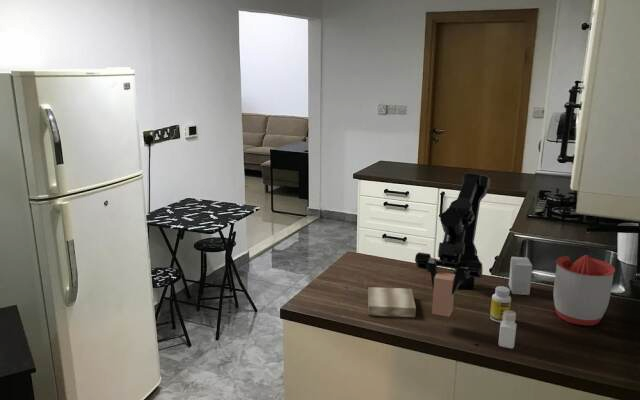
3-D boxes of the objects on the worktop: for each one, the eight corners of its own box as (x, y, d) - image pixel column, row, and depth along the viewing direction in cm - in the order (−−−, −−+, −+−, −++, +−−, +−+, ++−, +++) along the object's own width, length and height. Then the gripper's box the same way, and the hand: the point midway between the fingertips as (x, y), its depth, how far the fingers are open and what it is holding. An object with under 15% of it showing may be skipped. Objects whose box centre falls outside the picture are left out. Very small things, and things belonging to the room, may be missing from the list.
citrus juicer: (594, 305, 164) (603, 246, 159) (615, 332, 147) (625, 266, 142) (542, 301, 166) (549, 242, 161) (556, 327, 150) (565, 262, 145)
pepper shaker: (499, 339, 143) (502, 308, 140) (514, 342, 141) (517, 311, 139) (497, 346, 139) (501, 314, 137) (513, 349, 138) (517, 317, 135)
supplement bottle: (499, 324, 151) (502, 294, 149) (485, 317, 156) (488, 287, 153) (512, 321, 153) (516, 290, 151) (499, 313, 158) (502, 283, 156)
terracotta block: (435, 306, 152) (438, 271, 149) (452, 309, 150) (455, 274, 147) (431, 313, 148) (434, 277, 145) (449, 316, 146) (452, 280, 143)
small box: (529, 295, 171) (533, 265, 168) (511, 294, 172) (514, 264, 169) (525, 286, 178) (528, 257, 176) (508, 284, 179) (511, 256, 177)
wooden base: (410, 297, 169) (411, 288, 168) (415, 317, 155) (415, 308, 155) (368, 295, 170) (368, 287, 169) (368, 315, 156) (368, 306, 156)
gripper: (418, 226, 150) (406, 275, 143) (484, 234, 143) (475, 286, 136) (423, 243, 159) (412, 290, 152) (485, 252, 152) (477, 302, 145)
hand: (443, 292), depth 146 cm, fingers closed on terracotta block, 5 cm apart
